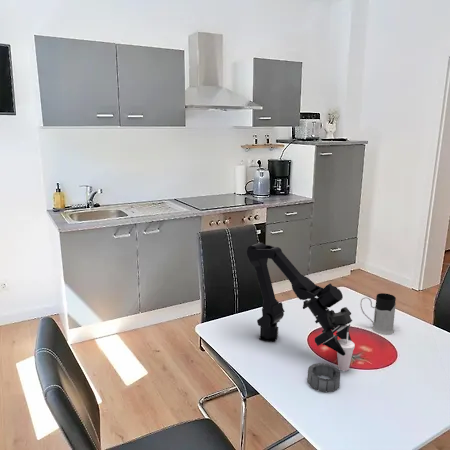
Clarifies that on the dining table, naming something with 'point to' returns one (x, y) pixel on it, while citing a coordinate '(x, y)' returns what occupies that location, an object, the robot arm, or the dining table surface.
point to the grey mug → (383, 313)
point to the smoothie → (348, 349)
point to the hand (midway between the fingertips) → (348, 351)
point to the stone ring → (323, 383)
